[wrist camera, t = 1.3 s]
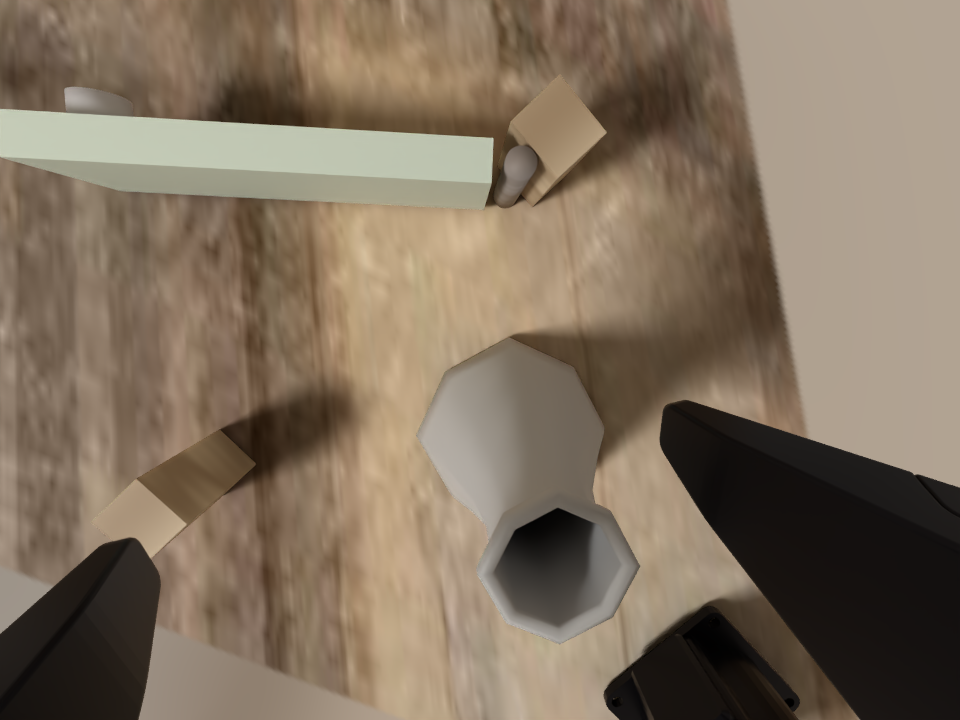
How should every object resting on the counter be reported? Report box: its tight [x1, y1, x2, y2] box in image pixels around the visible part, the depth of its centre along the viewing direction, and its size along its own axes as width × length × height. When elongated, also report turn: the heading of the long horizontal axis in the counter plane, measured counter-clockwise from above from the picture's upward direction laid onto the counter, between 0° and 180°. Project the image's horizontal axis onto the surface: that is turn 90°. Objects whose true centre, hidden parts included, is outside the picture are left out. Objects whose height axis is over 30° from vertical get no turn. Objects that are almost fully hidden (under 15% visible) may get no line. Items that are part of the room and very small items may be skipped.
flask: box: [416, 337, 640, 644], centre depth 15 cm, size 7×7×10 cm
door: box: [0, 87, 494, 210], centre depth 15 cm, size 2×13×5 cm, turn 88°
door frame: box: [91, 75, 607, 559], centre depth 16 cm, size 2×19×5 cm, turn 132°
